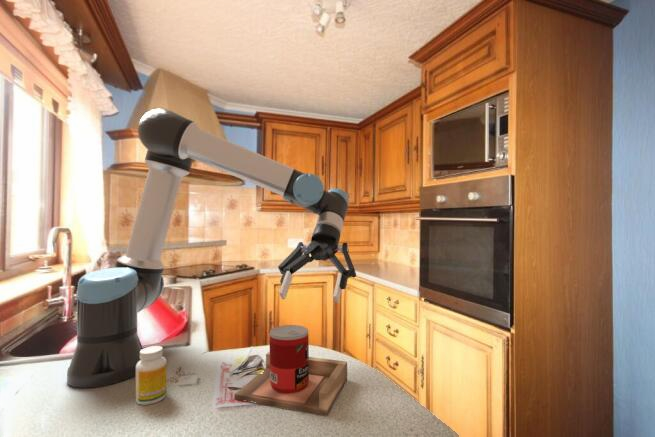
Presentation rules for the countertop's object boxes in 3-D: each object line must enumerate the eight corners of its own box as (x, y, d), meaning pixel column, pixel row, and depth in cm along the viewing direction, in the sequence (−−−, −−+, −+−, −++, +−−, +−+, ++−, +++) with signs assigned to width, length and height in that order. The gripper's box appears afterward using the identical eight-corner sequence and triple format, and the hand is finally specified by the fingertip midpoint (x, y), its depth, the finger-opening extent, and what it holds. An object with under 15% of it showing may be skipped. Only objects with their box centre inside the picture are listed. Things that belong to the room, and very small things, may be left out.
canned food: (303, 395, 62) (302, 337, 63) (263, 392, 64) (263, 335, 64) (313, 377, 70) (312, 325, 70) (277, 374, 71) (276, 323, 72)
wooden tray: (234, 399, 64) (234, 378, 64) (269, 368, 77) (269, 351, 77) (327, 416, 58) (326, 393, 58) (347, 380, 71) (347, 361, 71)
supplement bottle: (130, 400, 64) (130, 350, 64) (157, 388, 68) (157, 342, 69) (144, 409, 61) (144, 357, 61) (171, 396, 65) (171, 347, 65)
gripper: (373, 241, 90) (362, 310, 76) (290, 240, 98) (266, 302, 83) (369, 222, 85) (357, 291, 71) (282, 223, 93) (255, 285, 79)
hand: (308, 298), depth 77 cm, fingers open, 13 cm apart
